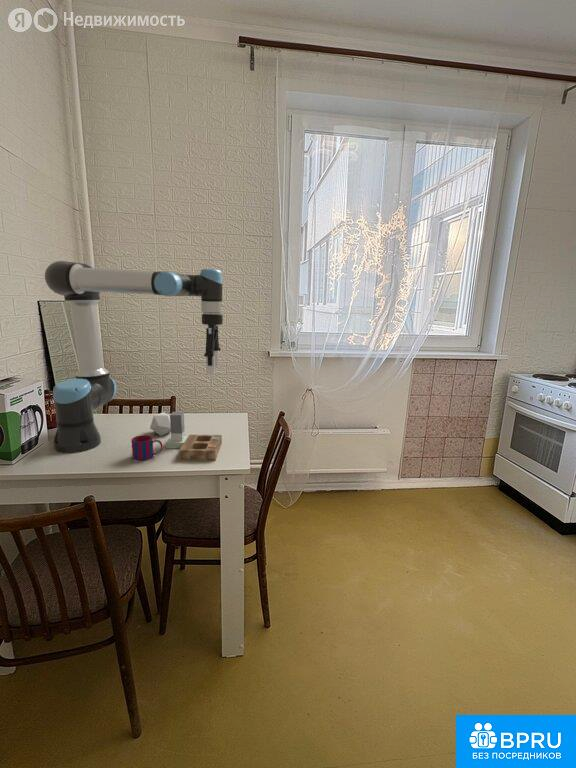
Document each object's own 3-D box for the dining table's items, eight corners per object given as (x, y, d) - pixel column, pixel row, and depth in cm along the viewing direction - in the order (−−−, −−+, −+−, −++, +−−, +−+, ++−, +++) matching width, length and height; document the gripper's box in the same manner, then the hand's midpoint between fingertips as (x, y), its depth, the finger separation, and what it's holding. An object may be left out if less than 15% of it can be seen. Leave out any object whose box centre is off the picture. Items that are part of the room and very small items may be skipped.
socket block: (179, 460, 129) (179, 449, 128) (189, 443, 143) (189, 434, 142) (215, 460, 129) (215, 450, 128) (221, 443, 144) (221, 434, 143)
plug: (171, 441, 140) (169, 415, 137) (174, 437, 144) (172, 411, 141) (182, 441, 140) (181, 415, 138) (184, 437, 144) (183, 411, 141)
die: (177, 436, 151) (179, 413, 156) (159, 431, 145) (162, 406, 149) (162, 440, 156) (165, 417, 160) (144, 435, 149) (147, 411, 153)
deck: (166, 447, 139) (165, 442, 138) (171, 440, 145) (171, 435, 145) (185, 448, 139) (185, 442, 138) (189, 440, 146) (189, 435, 145)
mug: (138, 452, 134) (137, 434, 132) (166, 454, 133) (165, 436, 131) (128, 460, 127) (127, 441, 126) (157, 462, 126) (156, 443, 125)
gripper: (218, 315, 127) (219, 377, 132) (225, 312, 151) (226, 365, 156) (195, 314, 126) (197, 377, 131) (206, 311, 151) (207, 364, 156)
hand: (213, 370), depth 144 cm, fingers open, 13 cm apart
